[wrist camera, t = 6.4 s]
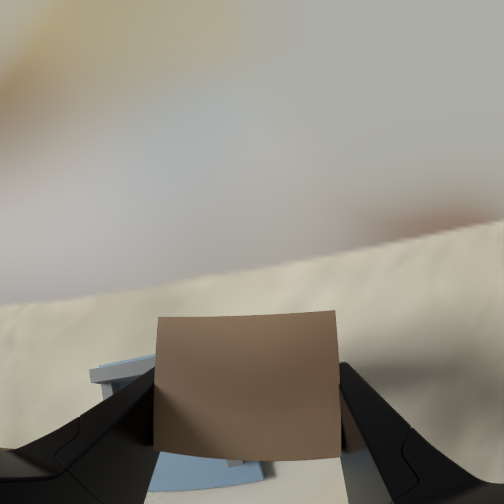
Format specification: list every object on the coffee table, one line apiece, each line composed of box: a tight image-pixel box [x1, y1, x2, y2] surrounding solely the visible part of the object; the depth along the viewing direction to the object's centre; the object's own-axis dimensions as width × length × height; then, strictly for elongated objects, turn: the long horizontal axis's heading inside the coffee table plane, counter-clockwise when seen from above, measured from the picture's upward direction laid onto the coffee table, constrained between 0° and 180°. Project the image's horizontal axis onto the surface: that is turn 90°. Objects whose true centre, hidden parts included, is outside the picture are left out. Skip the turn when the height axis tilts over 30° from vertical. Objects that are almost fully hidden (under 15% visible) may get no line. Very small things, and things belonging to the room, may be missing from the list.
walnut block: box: [153, 310, 341, 461], centre depth 11 cm, size 4×5×8 cm
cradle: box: [89, 354, 265, 491], centre depth 18 cm, size 11×11×3 cm
